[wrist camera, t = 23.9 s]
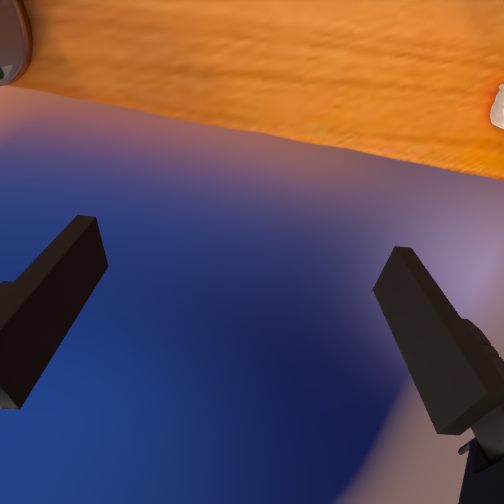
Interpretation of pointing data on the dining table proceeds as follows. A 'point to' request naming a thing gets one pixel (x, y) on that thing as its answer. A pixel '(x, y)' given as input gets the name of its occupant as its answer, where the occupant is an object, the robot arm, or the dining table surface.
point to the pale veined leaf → (498, 109)
